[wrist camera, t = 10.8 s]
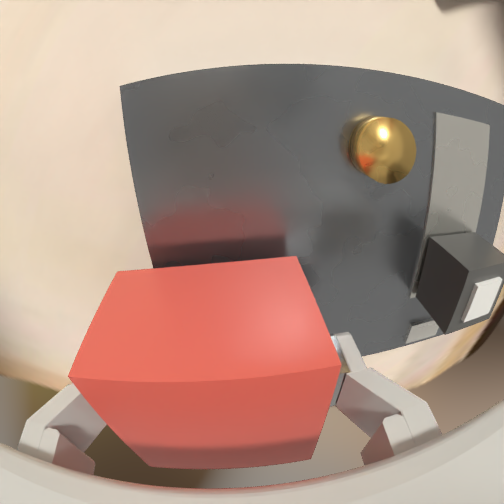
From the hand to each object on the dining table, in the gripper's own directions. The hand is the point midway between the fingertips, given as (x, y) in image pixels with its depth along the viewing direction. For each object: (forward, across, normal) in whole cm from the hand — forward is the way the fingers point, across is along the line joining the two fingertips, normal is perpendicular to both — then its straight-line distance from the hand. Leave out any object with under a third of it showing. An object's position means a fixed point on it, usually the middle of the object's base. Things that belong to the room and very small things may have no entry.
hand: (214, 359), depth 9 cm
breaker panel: (+4, -6, -2) cm, 7 cm away
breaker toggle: (+2, -10, -1) cm, 10 cm away
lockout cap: (+1, 0, 0) cm, 1 cm away
